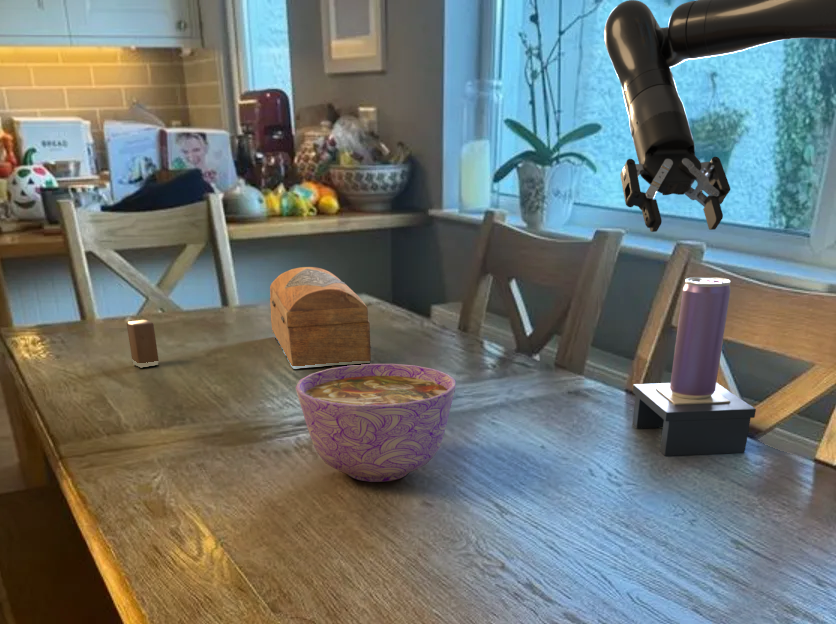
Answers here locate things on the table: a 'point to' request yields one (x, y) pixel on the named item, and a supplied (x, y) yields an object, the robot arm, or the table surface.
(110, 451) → the table surface
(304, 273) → the wooden box
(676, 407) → the dark footstool
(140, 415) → the table surface
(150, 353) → the wooden block
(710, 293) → the beverage can
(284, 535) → the table surface
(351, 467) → the bowl of food
